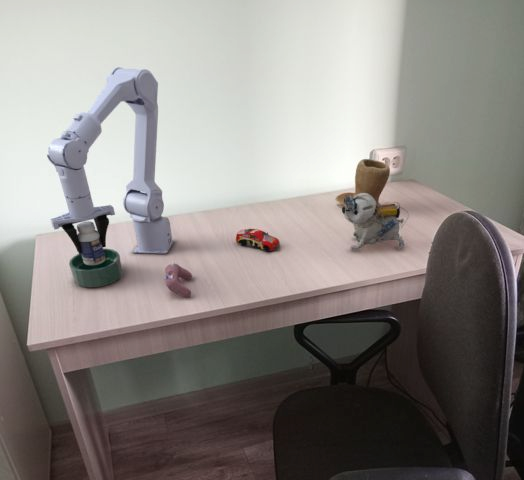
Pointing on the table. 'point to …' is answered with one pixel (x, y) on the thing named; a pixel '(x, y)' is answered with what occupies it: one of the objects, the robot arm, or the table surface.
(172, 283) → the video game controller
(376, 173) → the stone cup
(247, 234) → the race car
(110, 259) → the bowl
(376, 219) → the robotic toy
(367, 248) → the table surface
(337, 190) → the table surface
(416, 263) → the table surface
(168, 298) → the table surface
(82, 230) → the pill bottle
